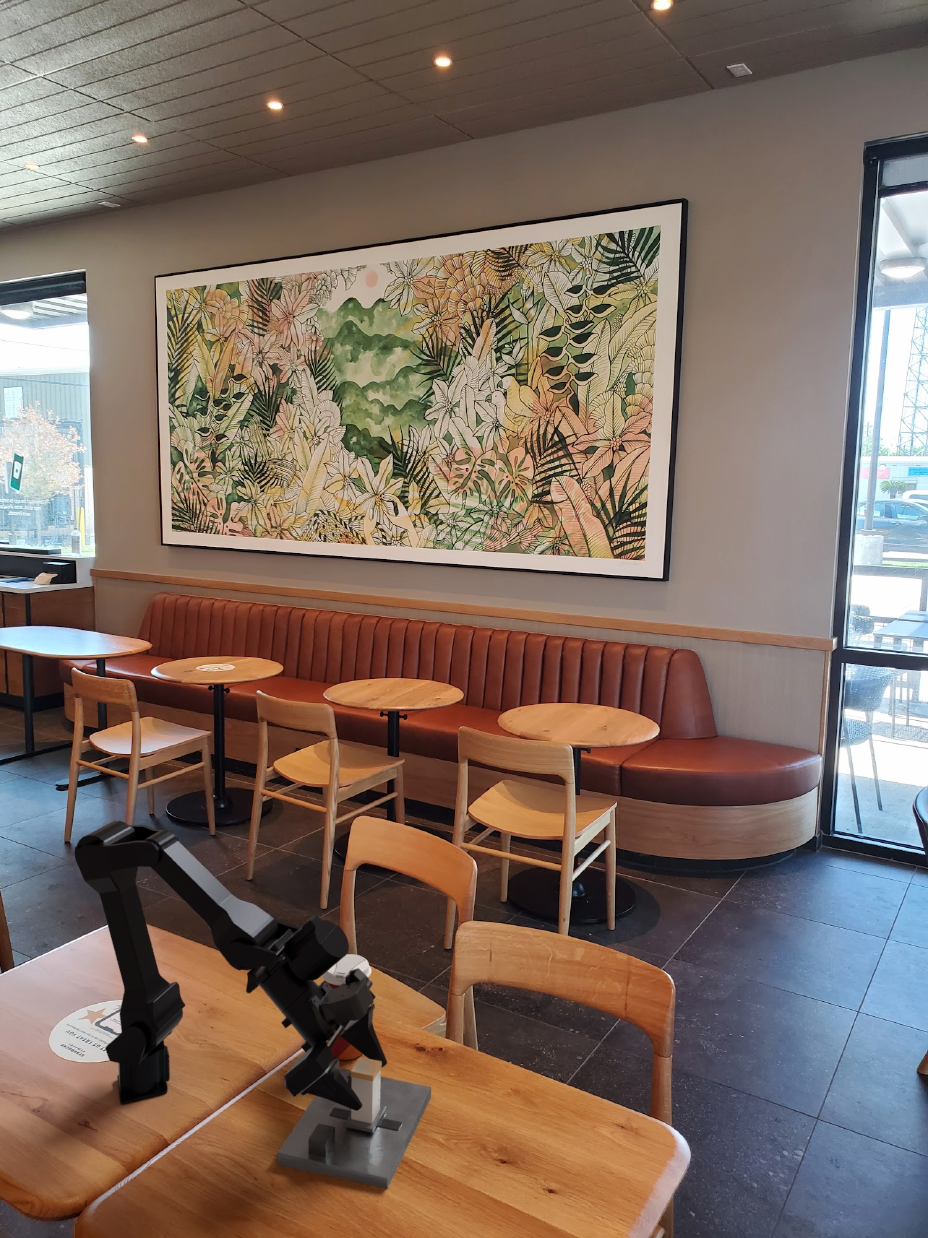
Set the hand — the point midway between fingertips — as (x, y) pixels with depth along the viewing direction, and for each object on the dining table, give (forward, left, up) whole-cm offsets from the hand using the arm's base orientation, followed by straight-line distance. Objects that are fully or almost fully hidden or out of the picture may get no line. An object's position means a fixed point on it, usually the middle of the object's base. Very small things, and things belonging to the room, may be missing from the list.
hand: (372, 1086), depth 118 cm
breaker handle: (-1, +1, -5) cm, 5 cm away
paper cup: (+2, +19, -7) cm, 21 cm away
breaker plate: (-1, +1, -7) cm, 7 cm away
